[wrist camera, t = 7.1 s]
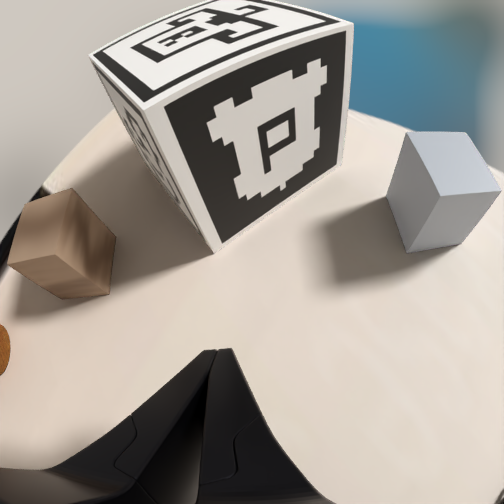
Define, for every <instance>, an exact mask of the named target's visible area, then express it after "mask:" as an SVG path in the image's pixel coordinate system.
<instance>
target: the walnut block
mask: <svg viewBox="0 0 504 504" xmlns="http://www.w3.org/2000/svg"><path fill="white" fill-rule="evenodd" d="M115 240H116V236H115V235H114V234H113V233H112V232H111V231H110V230H109V229H108V228H107V227H106V226H105V224H104V223H103V222H102V221H101V220H100V219H99V218H98V217H97V216H96V215H95V213H94V212H93V211H92V210H91V209H90V208H89V207H88V206H87V204H86V203H85V202H84V201H83V200H82V199H81V198H80V196H79V195H78V194H77V193H76V192H75V191H74V189H73V188H70V189H67V190H64V191H61V192H58V193H55V194H52V195H49V196H46V197H43V198H40V199H38V200H35V201H32V202H29V203H27V204H25V205H24V208H23V211H22V214H21V217H20V220H19V223H18V226H17V230H16V233H15V236H14V240H13V243H12V247H11V251H10V255H9V258H8V263H7V265H9V266H10V267H12V268H13V269H14V270H16V271H17V272H19V273H20V274H22V275H24V276H25V277H27V278H28V279H30V280H31V281H33V282H34V283H36V284H38V285H39V286H41V287H42V288H44V289H46V290H47V291H49V292H50V293H52V294H54V295H55V296H57V297H59V298H61V299H69V298H79V297H89V296H99V295H108V294H109V292H110V281H111V272H112V263H113V255H114V247H115Z"/></svg>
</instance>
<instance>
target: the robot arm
mask: <svg viewBox="0 0 504 504" xmlns="http://www.w3.org/2000/svg"><path fill="white" fill-rule="evenodd" d="M0 504H336V503H334V502H332V501H330V500H328V499H327V498H325V497H324V496H323V495H322V494H321V493H320V492H318V491H317V490H316V489H315V488H314V486H313V485H312V484H311V483H310V482H309V481H308V480H307V479H306V477H305V476H304V475H303V474H302V473H301V471H300V470H299V469H298V468H297V466H296V465H295V464H294V463H293V461H292V460H291V459H290V458H289V456H288V455H287V454H286V453H285V451H284V450H283V449H282V447H281V446H280V444H279V443H278V441H277V440H276V439H275V437H274V435H273V434H272V432H271V430H270V428H269V426H268V425H267V422H266V420H265V418H264V416H263V415H262V412H261V410H260V408H259V406H258V404H257V402H256V400H255V398H254V395H253V393H252V391H251V389H250V387H249V385H248V382H247V380H246V378H245V376H244V374H243V371H242V369H241V367H240V365H239V363H238V360H237V358H236V356H235V354H234V351H233V349H232V348H226V349H219V350H216V349H214V350H204V351H202V352H201V353H200V354H199V355H198V356H197V357H196V358H195V359H193V360H192V361H191V362H190V363H189V364H188V365H187V366H186V367H184V368H183V369H182V370H181V371H180V372H179V373H178V374H177V375H175V376H174V377H173V378H172V379H171V380H170V381H169V382H167V383H166V384H165V385H164V386H163V387H162V388H161V389H159V390H158V391H157V392H156V393H155V394H154V395H153V396H151V397H150V398H149V399H148V400H147V401H146V402H144V403H143V404H142V405H141V406H140V407H139V408H137V409H136V410H135V411H134V412H133V413H132V414H131V415H129V416H128V417H127V418H125V419H124V420H123V421H122V422H121V423H119V424H118V425H117V426H116V427H114V428H113V429H112V430H111V431H109V432H108V433H107V434H105V435H104V436H102V437H101V438H99V439H98V440H97V441H95V442H94V443H92V444H91V445H89V446H88V447H86V448H84V449H83V450H81V451H80V452H78V453H77V454H75V455H74V456H72V457H70V458H69V459H67V460H66V461H64V462H62V463H61V464H59V465H57V466H54V467H52V468H48V469H42V470H24V469H8V468H0Z"/></svg>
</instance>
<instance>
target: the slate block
mask: <svg viewBox="0 0 504 504" xmlns="http://www.w3.org/2000/svg"><path fill="white" fill-rule="evenodd" d="M500 192H501V189H500V187H499V185H498V183H497V181H496V180H495V178H494V176H493V174H492V173H491V171H490V169H489V168H488V166H487V164H486V163H485V161H484V159H483V158H482V156H481V155H480V153H479V152H478V150H477V148H476V147H475V145H474V144H473V142H472V141H471V139H470V138H469V136H468V135H467V133H466V132H406V134H405V138H404V141H403V145H402V148H401V151H400V155H399V158H398V161H397V164H396V167H395V170H394V174H393V177H392V180H391V183H390V186H389V188H388V191H387V194H386V198H387V200H388V203H389V205H390V208H391V211H392V213H393V216H394V219H395V221H396V224H397V227H398V230H399V233H400V235H401V238H402V241H403V244H404V247H405V250H406V253H412V252H418V251H424V250H429V249H435V248H441V247H447V246H452V245H458V244H461V243H462V242H463V241H464V240H465V238H466V237H467V236H468V235H469V233H470V232H471V231H472V230H473V228H474V227H475V226H476V225H477V223H478V222H479V221H480V220H481V218H482V217H483V216H484V214H485V213H486V212H487V210H488V209H489V208H490V206H491V205H492V204H493V202H494V201H495V199H496V198H497V197H498V195H499V194H500Z"/></svg>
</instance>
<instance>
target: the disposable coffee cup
mask: <svg viewBox="0 0 504 504" xmlns="http://www.w3.org/2000/svg"><path fill="white" fill-rule="evenodd" d="M9 356H10V340H9V335H8V333H7V330H6V329H5V328H4V326H2V325H0V375H1V374H2V373H3V372H4V371H5V369H6V367H7V364H8V361H9Z"/></svg>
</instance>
